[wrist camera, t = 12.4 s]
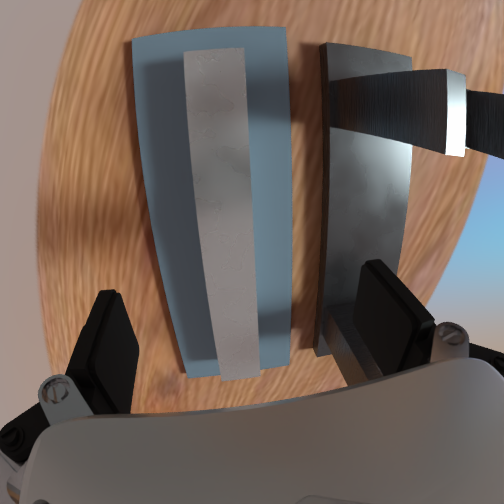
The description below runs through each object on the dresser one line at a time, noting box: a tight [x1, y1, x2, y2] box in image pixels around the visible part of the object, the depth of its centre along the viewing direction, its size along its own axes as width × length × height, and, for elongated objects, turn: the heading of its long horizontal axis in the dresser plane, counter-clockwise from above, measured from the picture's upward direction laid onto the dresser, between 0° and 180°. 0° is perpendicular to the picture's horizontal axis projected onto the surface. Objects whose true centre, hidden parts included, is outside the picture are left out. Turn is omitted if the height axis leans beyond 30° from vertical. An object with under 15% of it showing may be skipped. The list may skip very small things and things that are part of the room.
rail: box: [183, 48, 260, 381], centre depth 19 cm, size 22×3×2 cm, turn 3°
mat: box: [132, 26, 292, 378], centre depth 20 cm, size 26×9×1 cm, turn 3°
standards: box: [313, 42, 504, 386], centre depth 16 cm, size 24×6×11 cm, turn 3°
